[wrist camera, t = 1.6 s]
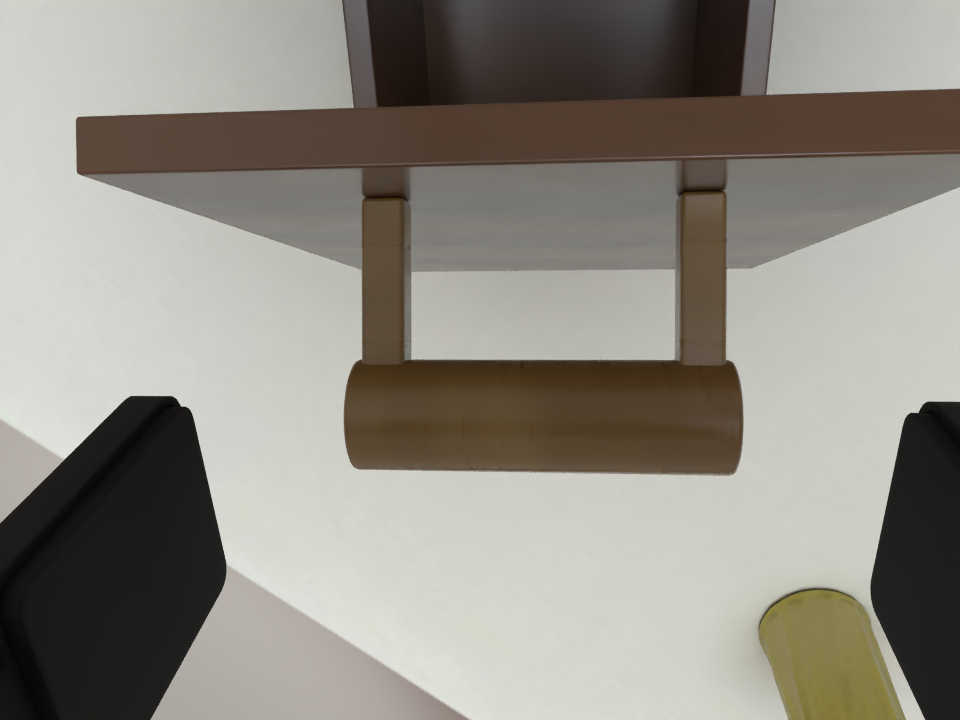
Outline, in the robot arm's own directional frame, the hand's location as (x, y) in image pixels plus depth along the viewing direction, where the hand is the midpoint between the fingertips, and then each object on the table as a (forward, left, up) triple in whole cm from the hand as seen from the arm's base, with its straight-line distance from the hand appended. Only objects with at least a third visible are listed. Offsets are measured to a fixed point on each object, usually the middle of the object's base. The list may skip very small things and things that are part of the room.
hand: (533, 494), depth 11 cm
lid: (-1, -1, -9) cm, 10 cm away
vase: (+1, +32, -28) cm, 43 cm away
